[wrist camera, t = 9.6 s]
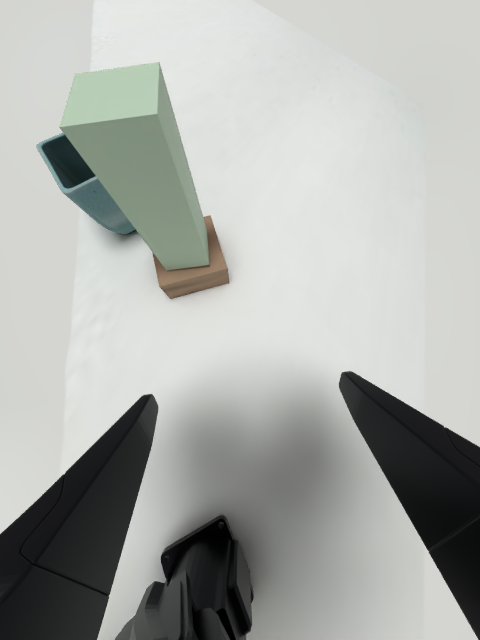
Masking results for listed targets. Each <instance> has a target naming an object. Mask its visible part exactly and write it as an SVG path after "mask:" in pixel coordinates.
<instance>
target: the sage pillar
mask: <svg viewBox="0 0 480 640" xmlns="http://www.w3.org/2000/svg"><path fill="white" fill-rule="evenodd" d="M60 129H61V130H62V131H63V133H64V134H65V135H66V137H67V138H68V139H69V141H70V142H71V143H72V145H73V146H74V147H75V149H76V150H77V151H78V153H79V154H80V155H81V157H82V158H83V159H84V161H85V162H86V163H87V165H88V166H89V167H90V169H91V170H92V171H93V173H94V174H95V175H96V177H97V178H98V179H99V181H100V182H101V183H102V185H103V186H104V187H105V189H106V190H107V191H108V193H109V194H110V196H111V197H112V198H113V200H114V201H115V202H116V204H117V205H118V206H119V208H120V209H121V210H122V212H123V213H124V214H125V216H126V217H127V218H128V220H129V221H130V222H131V224H132V225H133V226H134V228H135V229H136V230H137V232H138V233H139V234H140V236H141V237H142V238H143V240H144V241H145V242H146V244H147V245H148V246H149V248H150V249H151V250H152V252H153V253H154V254H155V256H156V257H157V258H158V260H159V261H160V262H161V264H162V265H163V267H164V268H165V269H166V271H167V270H175V269H183V268H191V267H198V266H206V265H209V251H208V238H207V229H206V225H205V222H204V218H203V215H202V211H201V208H200V204H199V201H198V197H197V193H196V190H195V186H194V183H193V179H192V176H191V172H190V169H189V165H188V162H187V158H186V155H185V151H184V148H183V144H182V141H181V137H180V133H179V130H178V126H177V123H176V119H175V116H174V112H173V109H172V105H171V102H170V98H169V95H168V91H167V88H166V84H165V81H164V77H163V74H162V70H161V66H160V63H159V62H157V63H150V64H143V65H136V66H129V67H122V68H115V69H108V70H101V71H93V72H87V73H79V74H75V77H74V80H73V83H72V87H71V91H70V94H69V97H68V100H67V104H66V107H65V111H64V114H63V118H62V121H61V124H60Z"/></svg>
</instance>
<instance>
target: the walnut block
mask: <svg viewBox="0 0 480 640" xmlns="http://www.w3.org/2000/svg"><path fill="white" fill-rule="evenodd" d="M203 218H204V222H205V225H206V229H207V238H208V251H209V265H206V266H198V267H191V268H183V269H175V270H167V271H166V269H165V268H164V267H163V265H162V264H161V262H160V261H159V260H158V258H157V257H156V256H155V254H154V253H153V257H154V262H155V267H156V272H157V277H158V282H159V287H160V288H161V289H162V290H163V291H164V292H165V293H166V294H167V295H168V297H169V298H170V299H172V298H176V297H180V296H183V295H187V294H191V293H194V292H198V291H202V290H205V289H209V288H212V287H216V286H220V285H223V284H227V283H229V278H228V270H227V266H226V263H225V260H224V257H223V253H222V250H221V247H220V244H219V241H218V238H217V235H216V232H215V228H214V225H213V222H212V219H211V216H206V217H203Z"/></svg>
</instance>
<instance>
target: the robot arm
mask: <svg viewBox="0 0 480 640" xmlns="http://www.w3.org/2000/svg"><path fill="white" fill-rule="evenodd" d="M339 388H340V391H341V393H342V395H343V398H344V400H345V402H346V404H347V407H348V409H349V411H350V413H351V415H352V418H353V420H354V422H355V423H356V425H357V427H358V429H359V431H360V432H361V434H362V436H363V438H364V439H365V441H366V443H367V445H368V446H369V448H370V450H371V452H372V453H373V455H374V457H375V459H376V460H377V462H378V464H379V466H380V467H381V469H382V471H383V473H384V474H385V476H386V478H387V480H388V481H389V483H390V485H391V487H392V488H393V490H394V492H395V494H396V495H397V497H398V499H399V501H400V502H401V504H402V506H403V508H404V509H405V511H406V513H407V515H408V516H409V518H410V520H411V522H412V523H413V525H414V527H415V529H416V530H417V532H418V534H419V536H420V537H421V539H422V541H423V543H424V545H425V546H426V548H427V550H428V551H429V554H430V555H431V557H432V559H433V561H434V562H435V564H436V566H437V568H438V569H439V571H440V572H441V574H442V576H443V578H444V580H445V582H446V583H447V585H448V587H449V588H450V590H451V592H452V594H453V596H454V597H455V599H456V601H457V603H458V604H459V606H460V608H461V610H462V611H463V613H464V615H465V617H466V618H467V620H468V622H469V624H470V625H471V627H472V629H473V631H474V632H475V634H476V636H477V638H478V640H480V447H478V446H477V445H475V444H473V443H472V442H470V441H468V440H467V439H465V438H463V437H461V436H459V435H458V434H456V433H454V432H453V431H451V430H449V429H448V428H444V426H442V425H441V424H439V423H438V422H436V421H434V420H432V419H431V418H429V417H427V416H426V415H424V414H422V413H421V412H419V411H417V410H416V409H414V408H412V407H411V406H409V405H407V404H406V403H404V402H402V401H401V400H399V399H397V398H396V397H394V396H392V395H390V394H389V393H387V392H385V391H384V390H382V389H380V388H379V387H377V386H375V385H374V384H372V383H370V382H369V381H367V380H365V379H364V378H362V377H360V376H359V375H357V374H355V373H353V372H351V371H348V372H342V374H341V377H340V382H339ZM157 414H158V404H157V402H156V400H155V398H154V396H153V395H152V394H147V395H143V396H142V397H141V398H140V399H139V400H138V401H137V402H136V403H135V404H134V405H133V406H132V407H131V408H130V409H129V410H128V411H127V412H126V413H125V414H124V415H123V416H122V417H121V418H120V419H119V420H118V421H117V422H116V423H115V424H114V425H113V426H112V427H111V428H110V429H109V430H108V431H107V432H106V433H105V434H104V435H103V436H102V437H101V438H100V439H99V440H98V441H97V442H95V443H94V444H93V445H92V446H91V447H90V448H89V449H88V450H87V451H86V452H85V453H84V454H83V455H82V456H81V457H80V458H79V459H78V460H77V461H76V462H75V463H74V464H73V465H72V466H71V467H70V468H69V469H68V470H67V471H66V473H65V474H64V475H62V476H61V477H60V478H59V479H58V480H57V481H56V482H55V483H54V484H53V485H52V486H51V487H50V488H49V489H48V490H47V491H46V492H45V493H44V494H43V495H42V496H41V497H40V498H39V499H38V500H37V501H36V502H35V503H34V504H33V505H32V506H30V507H29V508H28V509H27V510H26V511H25V512H24V513H23V514H22V515H21V516H20V517H19V518H18V519H16V520H15V521H14V522H13V523H12V524H11V525H10V526H9V527H8V528H7V529H6V530H4V531H3V532H2V533H1V534H0V640H97V638H98V634H99V631H100V627H101V624H102V620H103V617H104V613H105V610H106V606H107V602H108V599H109V594H110V591H111V588H112V584H113V581H114V577H115V574H116V570H117V567H118V563H119V560H120V556H121V553H122V549H123V545H124V542H125V538H126V535H127V531H128V528H129V524H130V521H131V517H132V514H133V510H134V507H135V503H136V500H137V496H138V493H139V489H140V485H141V482H142V478H143V475H144V471H145V468H146V464H147V461H148V457H149V454H150V450H151V446H152V442H153V436H154V431H155V425H156V420H157ZM220 522H223V523H224V524H223V525H220V524H219V523H220ZM165 555H168V556H169V558H166V557H165ZM161 564H162V567H163V571H164V574H165V578H166V582H165V583H161V582H157V581H155V582H153V583H152V584H151V585H150V586H149V587H148V588H147V589H146V592H145V594H144V596H143V598H142V601H141V603H140V605H139V608H138V610H137V613H136V615H135V616H134V617H133V618H132V619H131V620H130V621H129V622H128V623H127V624H126V625H125V626H124V627H123V629H122V631H121V632H120V633H119V634H118V636H117V637H116V638H115V640H246V634H247V633H249V632H250V631H251V626H252V614H251V603H252V601H253V588H252V586H251V583H250V571H249V568H248V566H247V563H246V560H245V558H244V555H243V553H242V550H241V547H240V545H239V542H238V540H236V539H234V538H233V535H232V533H231V530H230V527H229V525H228V522H227V519H226V518H225V517H224V516H219V517H217V518H216V519H214V520H212V521H211V522H209V523H207V524H206V525H204V526H202V527H201V528H199V529H197V530H196V531H194V532H192V533H191V534H189V535H188V536H186V537H184V538H183V539H181V540H179V541H178V542H176V543H174V544H173V545H171V546H169V547H168V548H166V549H165V550H164V551H163V554H162V556H161Z"/></svg>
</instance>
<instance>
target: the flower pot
mask: <svg viewBox="0 0 480 640" xmlns="http://www.w3.org/2000/svg"><path fill="white" fill-rule="evenodd" d="M36 147H37V149H38V151H39V153H40V154H41V156H42V158H43V159H44V161H45V163H46V165H47V166H48V168H49V170H50V172H51V173H52V175H53V177H54V179H55V181H56V182H57V184H58V186H59V188H60V190H61V191H62V192H63V193H64V194H65V195H66V196H67V197H68V198H70V199H71V200H72V201H73V202H74V203H75V204H77V205H78V206H79V207H80V208H81V209H82V210H84V211H85V212H86V213H87V214H88V215H89V216H91V217H92V218H93V219H94V220H95V221H97V222H98V223H99V224H101V225H102V226H103V227H105V228H107V229H109V230H111V231H114V232H117V233H121V234H128V233H130V232H132V231H134V230H135V228H134V226H133V225H132V224H131V222H130V221H129V220H128V218H127V217H126V216H125V214H124V213H123V212H122V210H121V209H120V208H119V206H118V205H117V204H116V202H115V201H114V200H113V198H112V197H111V196H110V194H109V193H108V191H107V190H106V189H105V187H104V186H103V185H102V183H101V182H100V181H99V179H98V178H97V177H96V175H95V174H94V173H93V171H92V170H91V169H90V167H89V166H88V165H87V163H86V162H85V161H84V159H83V158H82V157H81V155H80V154H79V153H78V151H77V150H76V149H75V147H74V146H73V145H72V143H71V142H70V141H69V139H68V138H67V137H66V135H65V134H64V133H61V134H59V135H57V136H54V137H52V138H49V139H47V140H44V141H43V142H41V143H39V144H37V146H36Z"/></svg>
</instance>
